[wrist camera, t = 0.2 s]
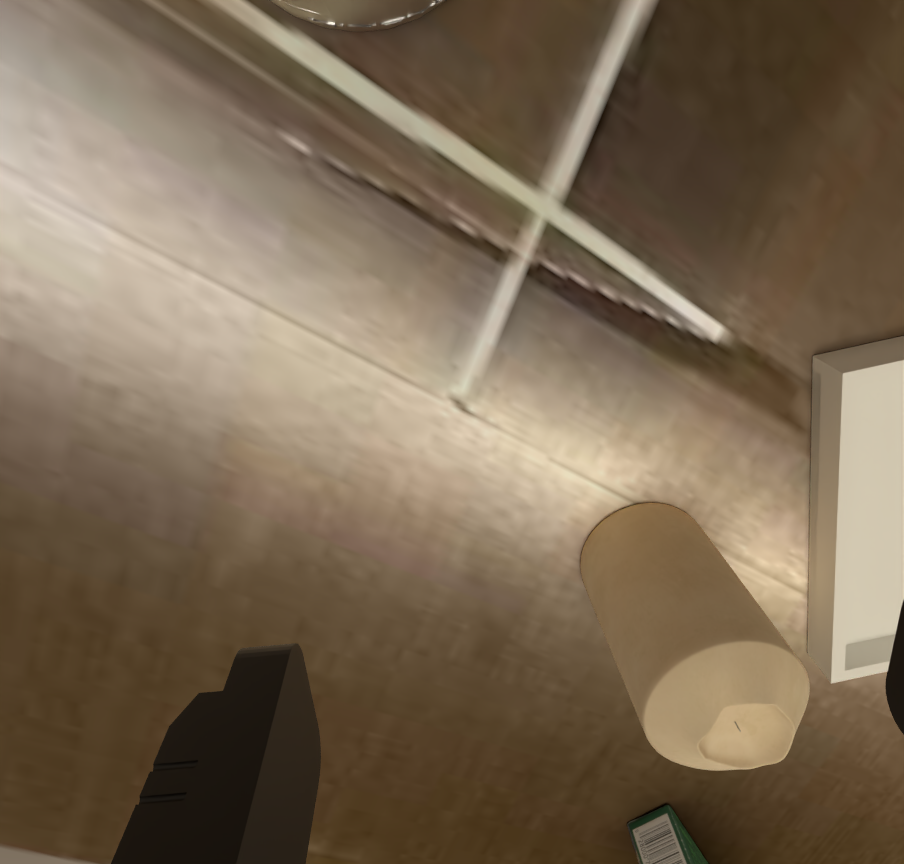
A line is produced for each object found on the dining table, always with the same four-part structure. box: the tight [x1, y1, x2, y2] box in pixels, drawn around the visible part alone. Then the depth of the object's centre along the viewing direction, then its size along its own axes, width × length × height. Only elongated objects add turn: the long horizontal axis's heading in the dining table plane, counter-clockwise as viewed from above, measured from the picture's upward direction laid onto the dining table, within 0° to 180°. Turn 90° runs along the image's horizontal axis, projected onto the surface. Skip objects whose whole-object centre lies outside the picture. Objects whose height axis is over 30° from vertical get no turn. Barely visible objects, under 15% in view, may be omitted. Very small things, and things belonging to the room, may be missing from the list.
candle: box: [580, 503, 810, 771], centre depth 26 cm, size 6×6×10 cm
